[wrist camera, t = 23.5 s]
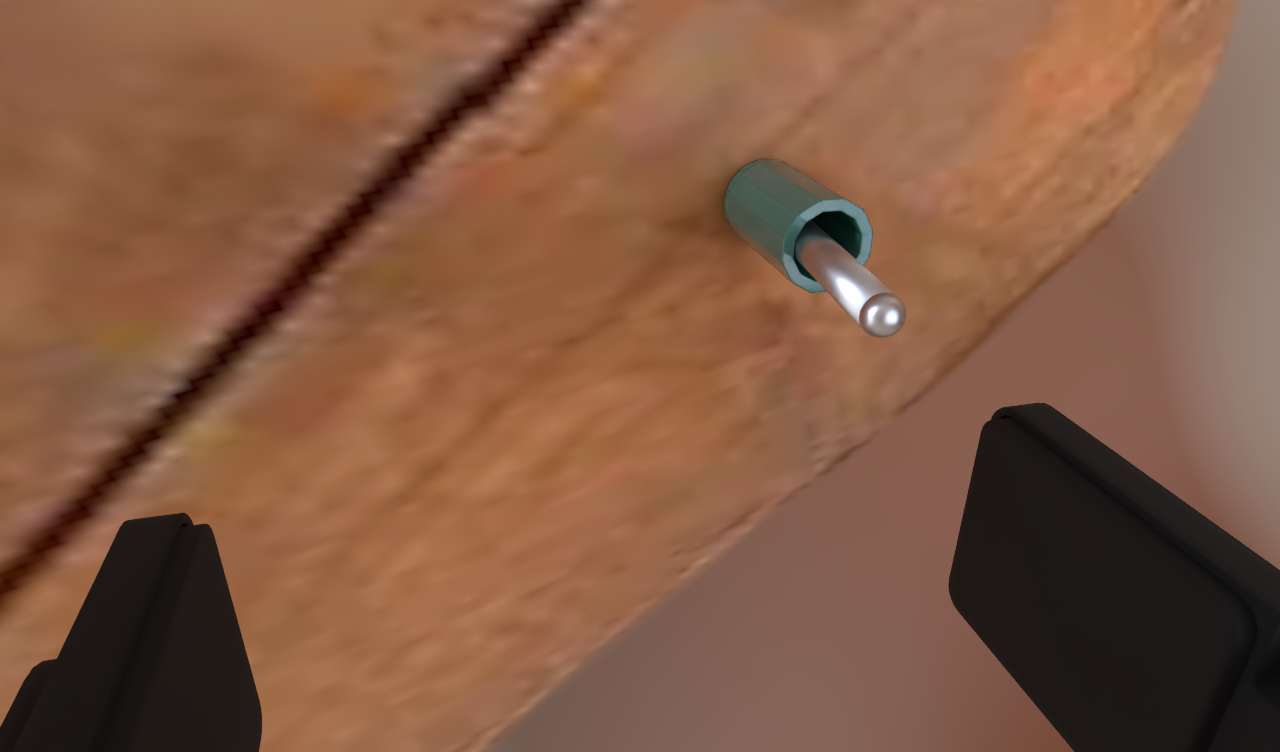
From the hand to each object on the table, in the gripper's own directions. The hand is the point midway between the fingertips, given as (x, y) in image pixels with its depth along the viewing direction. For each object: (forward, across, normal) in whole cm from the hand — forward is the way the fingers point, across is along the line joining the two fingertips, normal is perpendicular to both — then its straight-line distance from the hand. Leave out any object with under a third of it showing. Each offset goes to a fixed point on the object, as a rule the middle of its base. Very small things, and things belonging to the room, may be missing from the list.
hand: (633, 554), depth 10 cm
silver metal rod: (+28, -13, +4) cm, 31 cm away
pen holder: (+28, -13, +4) cm, 31 cm away
